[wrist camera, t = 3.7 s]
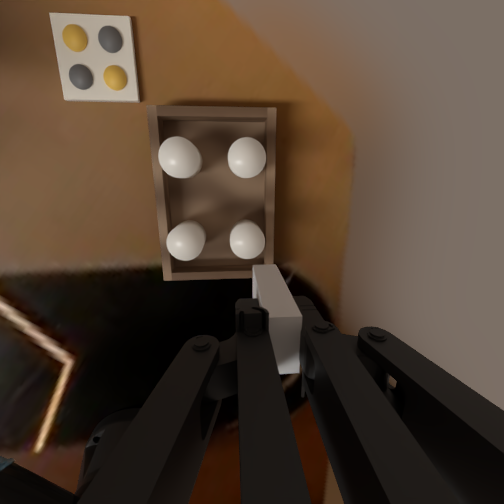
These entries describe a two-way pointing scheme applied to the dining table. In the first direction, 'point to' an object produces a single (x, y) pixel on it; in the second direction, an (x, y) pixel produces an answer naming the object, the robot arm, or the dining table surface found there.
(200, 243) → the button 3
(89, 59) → the pattern card
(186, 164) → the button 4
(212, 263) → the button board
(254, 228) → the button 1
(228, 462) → the dining table surface
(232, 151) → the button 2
